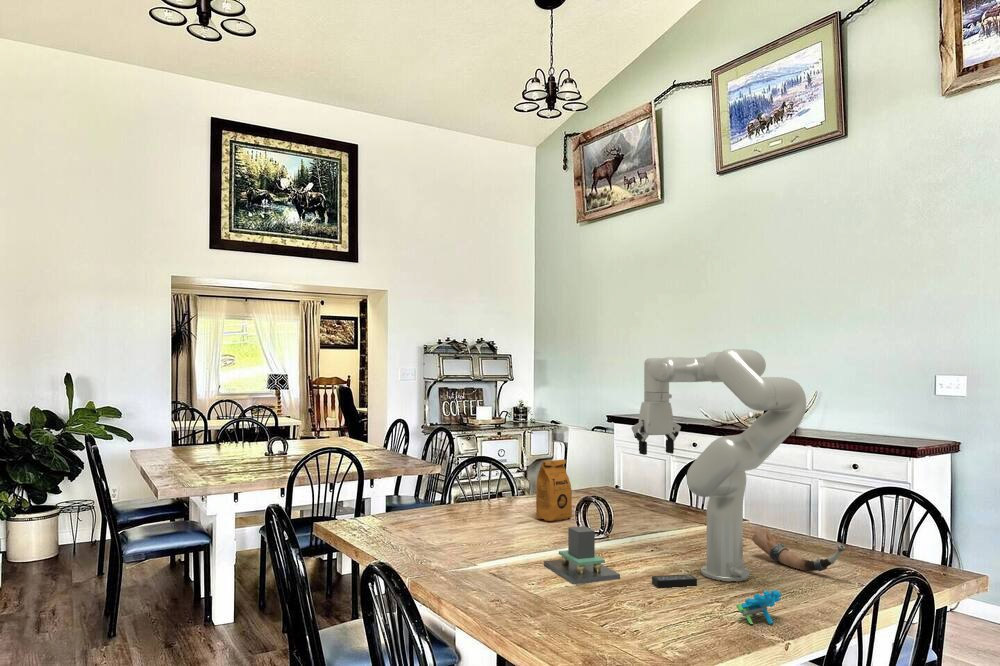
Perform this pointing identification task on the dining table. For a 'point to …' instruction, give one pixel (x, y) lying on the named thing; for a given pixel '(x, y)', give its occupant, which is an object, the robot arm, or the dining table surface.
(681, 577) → the multiport hub
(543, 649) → the dining table surface
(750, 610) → the blue toy dinosaur
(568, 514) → the coffee package
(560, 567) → the plate
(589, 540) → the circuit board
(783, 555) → the drinking horn
